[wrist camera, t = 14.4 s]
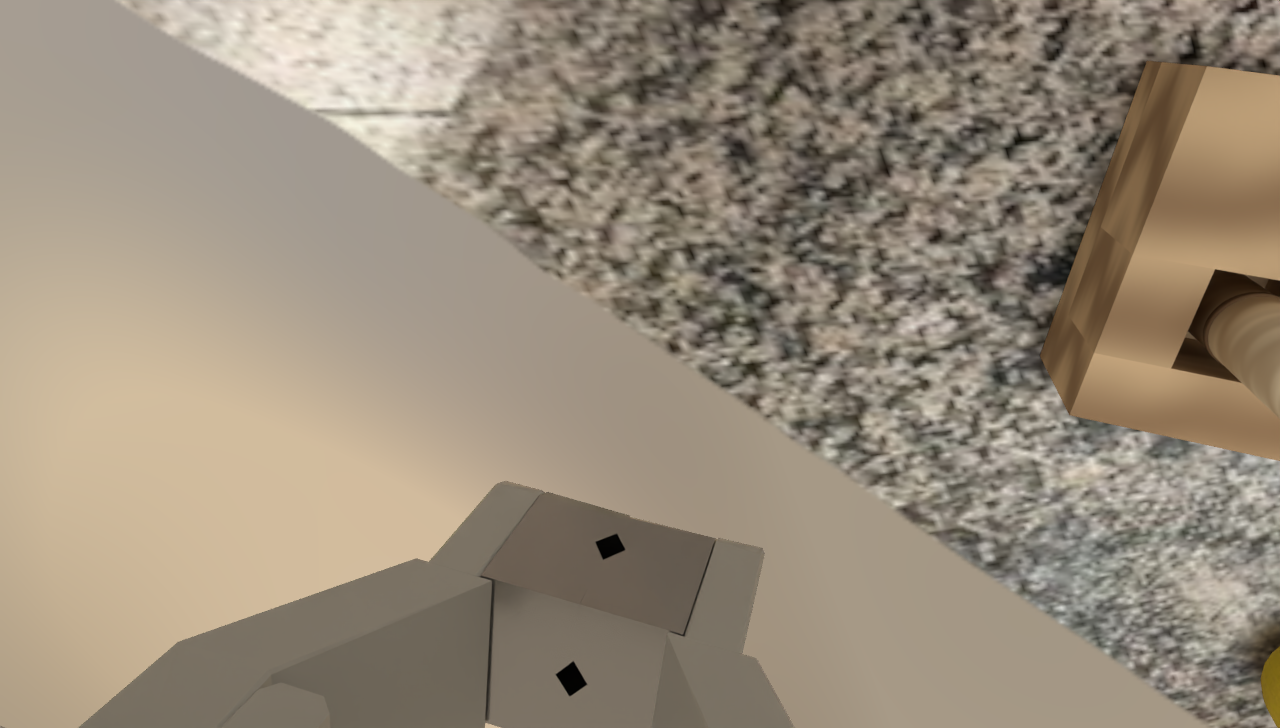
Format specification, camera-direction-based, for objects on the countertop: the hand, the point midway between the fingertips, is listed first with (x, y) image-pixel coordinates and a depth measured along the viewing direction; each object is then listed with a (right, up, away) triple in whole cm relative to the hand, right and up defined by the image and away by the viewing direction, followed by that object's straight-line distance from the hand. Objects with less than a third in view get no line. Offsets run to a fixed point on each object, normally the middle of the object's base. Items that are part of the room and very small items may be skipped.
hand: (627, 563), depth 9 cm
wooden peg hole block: (+27, +8, +27) cm, 39 cm away
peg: (+25, +5, +26) cm, 37 cm away
